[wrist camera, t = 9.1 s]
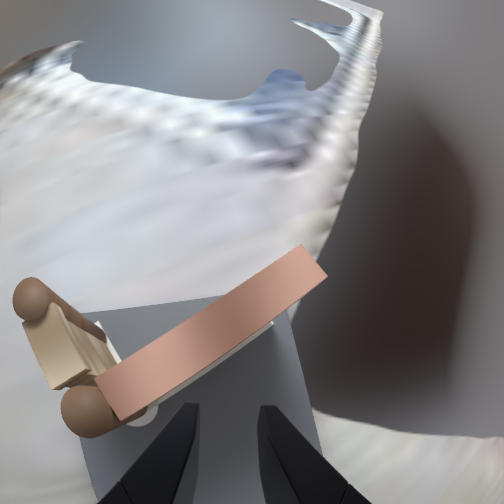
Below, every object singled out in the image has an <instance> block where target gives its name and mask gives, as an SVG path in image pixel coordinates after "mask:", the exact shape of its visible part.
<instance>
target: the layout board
mask: <svg viewBox="0 0 504 504" xmlns="http://www.w3.org/2000/svg"><path fill="white" fill-rule="evenodd" d="M223 296H224V295H222V296H215V297H208V298H201V299H194V300H187V301H180V302H173V303H165V304H158V305H150V306H142V307H134V308H126V309H117V310H109V311H100V312H90V313H81V314H82V315H83V316H85V317H86V318H87V319H88V320H90V321H91V322H93V323H94V324H95V325H97V326H98V327H99V328H101V329H102V330H103V331H104V332H105V334H106V337H107V343H106V345H107V347H108V349H109V350H110V352H111V354H112V356H113V357H114V359H115V361H116V362H117V364H118V363H120V362H121V361H123V360H124V359H126V358H128V357H129V356H131V355H132V354H134V353H136V352H137V351H139V350H140V349H142V348H144V347H145V346H147V345H148V344H150V343H151V342H153V341H155V340H156V339H158V338H159V337H161V336H162V335H164V334H165V333H167V332H169V331H170V330H172V329H173V328H175V327H176V326H178V325H179V324H181V323H183V322H184V321H186V320H187V319H189V318H190V317H192V316H193V315H195V314H196V313H198V312H200V311H201V310H203V309H204V308H206V307H207V306H209V305H210V304H212V303H213V302H215V301H216V300H218V299H219V298H221V297H223ZM70 388H72V387H70ZM186 401H188V402H198V403H199V404H200V438H199V462H198V476H197V482H196V488H195V493H194V499H193V504H266V502H265V498H264V493H263V488H262V484H261V478H260V471H259V455H258V437H257V424H258V418H259V411H260V407H261V406H262V405H276V406H277V407H278V408H279V409H280V410H281V411H282V413H283V414H284V415H285V416H286V417H287V418H288V419H289V420H290V422H291V423H292V424H293V425H294V426H295V427H296V428H297V429H298V430H299V432H300V433H301V434H302V435H303V436H304V437H305V438H306V439H307V440H308V441H309V442H310V443H311V444H312V446H313V447H314V448H315V449H316V450H317V451H318V452H319V453H320V454H321V455H322V451H321V447H320V442H319V438H318V434H317V430H316V426H315V421H314V417H313V413H312V409H311V405H310V401H309V397H308V393H307V389H306V385H305V381H304V377H303V373H302V369H301V365H300V361H299V357H298V353H297V349H296V345H295V341H294V337H293V333H292V329H291V325H290V321H289V318H288V314H287V310H285V311H284V312H282V313H281V314H280V315H279V316H277V317H276V318H275V319H273V320H272V321H271V322H269V323H268V324H266V325H265V326H264V327H262V328H261V329H260V330H258V331H257V332H256V333H254V334H253V335H251V336H250V337H249V338H247V339H246V340H245V341H243V342H242V343H240V344H239V345H238V346H236V347H235V348H233V349H232V350H231V351H229V352H228V353H226V354H225V355H223V356H222V357H221V358H219V359H218V360H216V361H215V362H213V363H212V364H210V365H209V366H207V367H206V368H205V369H203V370H202V371H200V372H199V373H197V374H196V375H194V376H193V377H191V378H190V379H188V380H187V381H185V382H184V383H182V384H181V385H179V386H177V387H176V388H174V389H173V390H171V391H170V392H168V393H167V394H165V395H164V396H162V397H160V398H159V399H157V400H156V401H154V402H152V403H151V404H149V405H148V409H147V411H146V413H145V414H144V415H143V416H142V417H140V418H138V419H136V420H134V421H132V422H129V423H127V424H125V425H123V426H121V427H119V428H117V429H114V430H112V431H110V432H108V433H106V434H103V435H101V436H99V437H96V438H83V437H80V436H79V437H80V441H81V445H82V449H83V453H84V457H85V461H86V464H87V468H88V471H89V475H90V478H91V481H92V485H93V488H94V491H95V494H96V497H97V499H98V502H99V501H100V500H101V499H102V498H103V497H104V496H105V495H106V494H107V493H108V492H109V491H110V489H111V488H112V487H113V486H114V485H115V484H116V483H117V481H120V478H121V477H122V476H123V475H124V474H125V472H126V471H127V470H128V469H129V468H130V467H131V465H132V464H133V463H134V462H135V461H136V460H137V458H138V457H139V456H140V455H141V454H142V452H143V451H144V450H145V449H146V448H147V447H148V445H149V444H150V443H151V442H152V441H153V439H154V438H155V437H156V436H157V435H158V433H159V432H160V431H161V430H162V428H163V427H164V426H165V425H166V424H167V422H168V421H169V420H170V419H171V417H172V416H173V415H174V414H175V413H176V411H177V410H178V409H179V408H180V406H181V405H182V404H183V403H184V402H186ZM322 456H323V455H322Z"/></svg>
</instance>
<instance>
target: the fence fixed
mask: <svg viewBox="0 0 504 504" xmlns="http://www.w3.org/2000/svg"><path fill="white" fill-rule="evenodd" d="M13 307H14V310H15V312H16V314H17V315H18V316H19V317H20V318H22V319H24V320H26V321H24V322H23V323H22V325H23V327H24V330H25V332H26V335H27V337H28V340H29V342H30V345H31V347H32V349H33V352H34V354H35V356H36V358H37V360H38V363H39V365H40V367H41V369H42V371H43V373H44V375H45V377H46V379H47V381H48V383H49V385H50V387H51V389H52V390H61V389H63V388H64V387H75V386H94V387H98V385H97V384H96V382H95V380H94V378H96V377H97V376H99V375H100V374H102V373H104V372H105V371H107V370H108V369H110V368H112V367H113V366H115V365H116V364H117V362H116V361H115V359H114V357H113V356H112V354H111V352H110V350H109V349H108V347H107V345H106V343H107V337H106V334H105V332H104V331H103V330H102V329H101V328H99V327H98V326H97V325H95V324H94V323H93V322H91V321H90V320H88V319H87V318H86V317H85V316H83V315H82V314H81V313H79V312H78V311H77V310H75V309H74V308H73V307H72V306H70V305H69V304H68V303H67V302H65V301H64V300H63V299H62V298H60V297H59V296H58V295H57V294H56V293H54V292H53V291H52V290H51V289H50V288H48V287H47V286H46V285H45V284H44V283H43V282H41V281H40V280H39V279H37V278H34V277H29V278H26V279H24V280H22V281H21V282H20V283H19V284H18V285H17V287H16V289H15V291H14V294H13Z"/></svg>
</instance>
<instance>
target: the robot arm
mask: <svg viewBox="0 0 504 504" xmlns="http://www.w3.org/2000/svg"><path fill="white" fill-rule="evenodd" d="M257 437H258V455H259V471H260V478H261V484H262V488H263V493H264V498H265V502H266V504H372V503H371V502H369V501H368V500H367V499H366V498H365V497H364V496H363V495H361V494H360V493H359V492H358V491H357V490H356V489H355V488H354V487H353V486H352V485H351V484H348V481H347V480H346V479H345V478H344V477H343V476H342V475H341V474H340V473H339V472H338V471H337V470H336V469H335V468H334V467H333V466H332V465H331V464H330V463H329V462H328V461H327V460H326V459H325V458H324V457H323V456H322V455H321V454H320V453H319V452H318V451H317V450H316V449H315V448H314V447H313V446H312V444H311V443H310V442H309V441H308V440H307V439H306V438H305V437H304V436H303V435H302V434H301V433H300V432H299V430H298V429H297V428H296V427H295V426H294V425H293V424H292V423H291V422H290V420H289V419H288V418H287V417H286V416H285V415H284V414H283V413H282V411H281V410H280V409H279V408H278V407H277V406H276V405H262V406H261V407H260V411H259V418H258V424H257ZM199 438H200V404H199V403H198V402H188V401H186V402H184V403H183V404H182V405H181V406H180V408H179V409H178V410H177V411H176V413H175V414H174V415H173V416H172V417H171V419H170V420H169V421H168V422H167V424H166V425H165V426H164V427H163V428H162V430H161V431H160V432H159V433H158V435H157V436H156V437H155V438H154V439H153V441H152V442H151V443H150V444H149V445H148V447H147V448H146V449H145V450H144V451H143V452H142V454H141V455H140V456H139V457H138V458H137V460H136V461H135V462H134V463H133V464H132V465H131V467H130V468H129V469H128V470H127V471H126V472H125V474H124V475H123V476H122V477H121V478H120V481H117V483H116V484H115V485H114V486H113V487H112V488H111V489H110V491H109V492H108V493H107V494H106V495H105V496H104V497H103V498H102V499H101V500H100V501H99V502H98V503H97V504H193V499H194V493H195V488H196V482H197V476H198V462H199Z"/></svg>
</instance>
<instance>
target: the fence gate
mask: <svg viewBox="0 0 504 504" xmlns="http://www.w3.org/2000/svg"><path fill="white" fill-rule="evenodd" d="M326 277H327V275H326V274H325V273H324V271H323V270H322V269H321V268H320V267H319V265H318V264H317V263H316V262H315V260H314V259H313V258H312V257H311V256H310V254H309V253H308V252H307V251H306V250H305V248H304V247H303V246H302V245H301V244H300V245H299V246H297V247H296V248H294V249H293V250H291V251H290V252H289V253H287V254H286V255H284V256H283V257H281V258H280V259H278V260H277V261H275V262H274V263H272V264H271V265H269V266H268V267H266V268H265V269H263V270H262V271H260V272H259V273H257V274H256V275H254V276H253V277H251V278H250V279H248V280H247V281H245V282H244V283H242V284H241V285H239V286H238V287H236V288H235V289H233V290H232V291H230V292H229V293H227V294H226V295H224V296H223V297H221V298H219V299H218V300H216V301H215V302H213V303H212V304H210V305H209V306H207V307H206V308H204V309H203V310H201V311H200V312H198V313H196V314H195V315H193V316H192V317H190V318H189V319H187V320H186V321H184V322H183V323H181V324H179V325H178V326H176V327H175V328H173V329H172V330H170V331H169V332H167V333H165V334H164V335H162V336H161V337H159V338H158V339H156V340H155V341H153V342H151V343H150V344H148V345H147V346H145V347H144V348H142V349H140V350H139V351H137V352H136V353H134V354H132V355H131V356H129V357H128V358H126V359H124V360H123V361H121V362H120V363H118V364H116V365H115V366H113V367H112V368H110V369H108V370H107V371H105V372H104V373H102V374H100V375H99V376H97V377H96V378H94V380H95V382H96V384H97V385H98V387H94V386H75V387H72V388H70V389H69V390H68V391H67V392H66V393H65V394H64V396H63V398H62V401H61V414H62V417H63V420H64V422H65V424H66V425H67V427H68V428H69V429H70V430H71V431H72V432H74V433H75V434H76V435H78V436H80V437H83V438H96V437H99V436H101V435H103V434H106V433H108V432H110V431H112V430H114V429H117V428H119V427H121V426H123V425H125V424H127V423H129V422H132V421H134V420H136V419H138V418H140V417H142V416H143V415H144V414H145V413H146V411H147V409H148V405H149V404H151V403H152V402H154V401H156V400H157V399H159V398H160V397H162V396H164V395H165V394H167V393H168V392H170V391H171V390H173V389H174V388H176V387H177V386H179V385H181V384H182V383H184V382H185V381H187V380H188V379H190V378H191V377H193V376H194V375H196V374H197V373H199V372H200V371H202V370H203V369H205V368H206V367H207V366H209V365H210V364H212V363H213V362H215V361H216V360H218V359H219V358H221V357H222V356H223V355H225V354H226V353H228V352H229V351H231V350H232V349H233V348H235V347H236V346H238V345H239V344H240V343H242V342H243V341H245V340H246V339H247V338H249V337H250V336H251V335H253V334H254V333H256V332H257V331H258V330H260V329H261V328H262V327H264V326H265V325H266V324H268V323H269V322H271V321H272V320H273V319H275V318H276V317H277V316H279V315H280V314H281V313H282V312H284V311H285V310H286V309H288V308H289V307H290V306H292V305H293V304H294V303H296V302H297V301H298V300H299V299H301V298H302V297H303V296H305V295H306V294H307V293H308V292H310V291H311V290H312V289H313V288H315V287H316V286H317V285H319V284H320V283H321V282H322V281H323V280H324V279H325V278H326Z"/></svg>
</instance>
